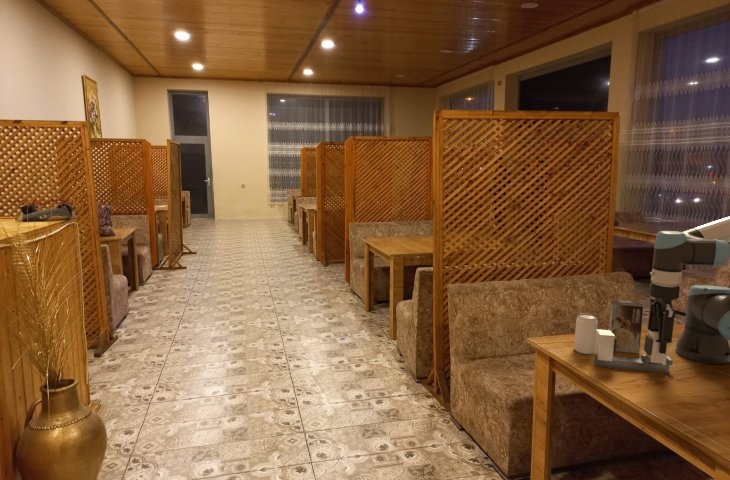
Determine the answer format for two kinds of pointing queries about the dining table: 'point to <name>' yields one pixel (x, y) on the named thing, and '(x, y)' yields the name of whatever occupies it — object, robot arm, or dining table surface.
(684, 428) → the dining table surface
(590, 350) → the can
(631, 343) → the coffee box
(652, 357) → the white block
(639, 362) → the rail
